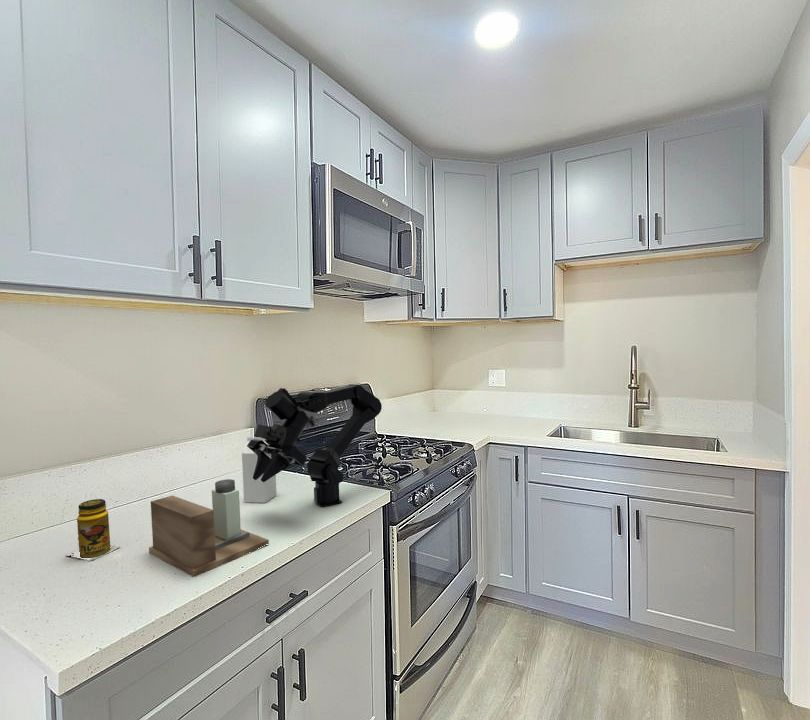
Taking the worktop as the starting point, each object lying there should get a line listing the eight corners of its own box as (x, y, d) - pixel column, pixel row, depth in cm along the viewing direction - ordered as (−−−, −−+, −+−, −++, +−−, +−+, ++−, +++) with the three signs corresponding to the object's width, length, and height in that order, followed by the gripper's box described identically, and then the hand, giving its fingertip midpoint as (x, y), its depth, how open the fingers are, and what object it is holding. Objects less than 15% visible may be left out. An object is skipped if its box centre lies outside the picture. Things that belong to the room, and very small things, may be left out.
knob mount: (221, 526, 123) (219, 481, 123) (268, 544, 111) (266, 494, 110) (149, 552, 109) (146, 501, 108) (193, 576, 96) (190, 519, 96)
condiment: (90, 561, 105) (87, 508, 104) (65, 556, 108) (61, 505, 108) (120, 548, 112) (117, 498, 111) (96, 543, 115) (93, 494, 114)
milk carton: (265, 503, 140) (262, 440, 139) (243, 502, 141) (240, 439, 140) (276, 495, 147) (274, 435, 146) (255, 494, 148) (253, 435, 147)
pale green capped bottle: (228, 529, 117) (226, 477, 116) (242, 535, 113) (240, 481, 113) (212, 535, 113) (209, 482, 113) (226, 541, 110) (223, 486, 109)
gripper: (251, 410, 129) (216, 458, 121) (295, 414, 118) (259, 468, 110) (276, 433, 136) (244, 480, 128) (320, 440, 124) (288, 492, 116)
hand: (258, 480), depth 120 cm, fingers open, 3 cm apart
